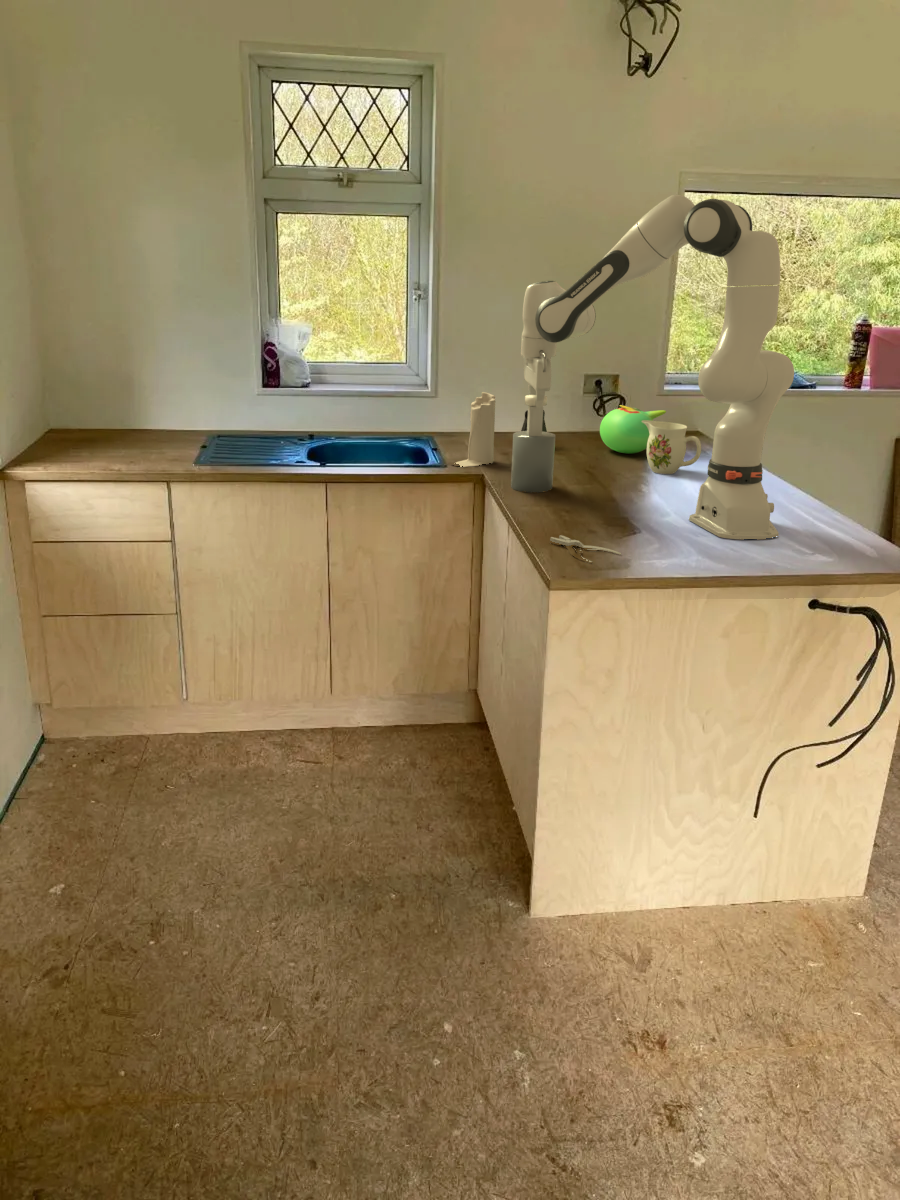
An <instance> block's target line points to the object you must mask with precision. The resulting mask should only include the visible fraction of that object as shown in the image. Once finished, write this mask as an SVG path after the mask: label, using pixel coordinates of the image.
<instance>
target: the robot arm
mask: <svg viewBox="0 0 900 1200" xmlns="http://www.w3.org/2000/svg"><path fill="white" fill-rule="evenodd" d="M752 221H753V220H752V218H751V216H750V214H749V212H748V211H747V210H746V209H745V208H744V207H742V206H741V205H738V204H735V203H734V202H733V201H729V200H728V199H727V200H725V199H717V198H707V199H705V200H701V201H700V202H698V203H696V204H695V203H693V201H692V200H691V199H690V198H688V197H687V196H685V195H682V194H672V195H669V196H668V197H666V198H665V199H663V200H662V201H660V202H659V203H658V204H656V205H655V206H653V207H652V208H651V209H650V210H649V211H648V212H646V213H645V214H644V215H642V217H641V218H639V220H638V221H637V222H635V224H634V225H633V226H632V227H630V229H629V230H628V231H626V233H624V235H623V236H622V237H621V238H620V239H619V240H618V242H617V243H616V244H615V245H614V246H613V247H612V248H611V249H610V250H609V251H608V252H607V253H606V254H605V255H604V256H603V257H602V258H601V259H600V260H599V261H598V262H596V263H595V265H594V266H592V267H591V268H590V269H588V271H587V272H586V273H584V274H583V275H582V276H581V277H580V278H579V279H577V280H576V281H575V282H574V283H573V284H572V285H571V286H569V287H568V289H565V288H563V287H562V286H561V285H560V284H559V283H558V282H557V281H556V280H555V281H554V280H545V281H537V282H533V283H531V284H529V285H528V286H527V287H526V289H525V292H524V297H523V304H522V305H523V306H522V323H523V329H522V332H521V341H520V343H521V344H520V347H521V348H520V356H521V357H523V359H522V361H523V362H522V365H523V377H524V380H525V382H527V384H528V392H529V394H528V395H536V400H535V406H536V407H537V408H542V407H543V408H544V406H543V400H544V396H546V392H550V390H551V386H552V384H551V383H552V362H551V359H552V358H554V357H556V356H557V343H561V342H562V341H565V340H568V339H575V338H578V337H581V336H584V335H585V334H587V333H589V332H590V331H591V330H592V329H593V328H594V326H595V323H596V317H597V315H596V309H595V307H594V304H595V303H596V302H597V301H598V300H599V299H600V298H601V297H603V296H604V295H605V294H606V293H607V292H608V291H610V290H613V288H616V287H617V286H619V285H623V284H625V283H628V282H632V281H636V280H639V279H643V278H645V277H647V276H648V275H650V274H651V273H654V272H655V271H656V270H658V269H659V268H660V267H662V266H663V265H664V264H665V263H666V262H667V261H668V260H669V259H671V257H672V256H675V254H676V253H678V251H679V250H680V249H682V248H683V247H685V246H686V245H688V244H689V245H690V246H691V247H692V248H693V249H694V250H696V251H698V252H700V253H704V254H708V255H712V256H715V257H718V258H723V259H724V261H725V263H726V267H727V268H726V269H727V278H726V293H725V308H724V317H723V324H722V328H721V331H720V335H719V337H718V341H717V343H716V346H715V348H714V350H713V352H712V354H711V355H710V356H709V358H708V359H707V360H706V361H705V362H704V363H703V365H702V366H701V368H700V369H699V372H698V373H699V374H698V376H697V377H698V379H697V380H698V381H697V383H698V388H699V390H700V393H701V394H702V396H703V397H704V398H705V399H706V400H707V401H710V402H713V403H719V404H726V405H729V408H728V410H727V412H726V413H725V415H724V416H723V417H722V418H721V419H720V420H719V421H718V423H717V424H716V426H715V428H714V432H713V433H714V434H713V443H712V451H711V458H710V459H709V461H708V464H707V478H706V480H705V481H704V482H703V483H702V484H701V485H700V487H699V491H698V496H697V500H696V507H695V513H692V514H690V515H689V517H688V520H689V521H690V522H691V523H693V524H695V525H697V526H698V527H701V529H704V530H706V531H707V532H709V533H711V534H713V535H715V536H716V537H719V538H722V539H723V538H724V539H729V540H730V539H731V540H744V539H757V540H767V539H766V538H772V537H776V536H779V535H780V534H779V531H778V529H777V528H776V527H775V525H774V524H773V523H772V522H771V520H770V518H771V514H773V513H774V511H775V503H774V502H769V501H768V493H766V492H765V490H764V488H763V484H762V481H763V473H764V471H763V464H762V454H763V449H764V444H765V443H764V442H765V436H766V432H767V429H768V427H769V423H770V420H771V418H772V416H773V413H774V411H775V409H776V406H777V405H778V403H779V401H780V399H781V398H782V396H783V395H784V394H785V393H786V392H787V391H788V390H789V389H790V387H791V386H792V384H793V381H794V378H795V368H794V363H793V361H792V360H791V359H790V358H789V357H788V356H787V355H785V354H783V353H780V352H778V351H773V350H767V349H765V350H762V346H763V344H764V342H765V339H766V337H767V335H768V334H769V332H770V331H771V330H772V329H773V328H774V326H775V325H776V323H777V320H778V314H779V313H778V312H779V311H778V310H779V299H780V285H781V282H780V281H781V260H780V259H781V257H780V249H779V242H778V239H777V238H776V236H774V235H773V234H771V233H769V232H767V231H762V230H761V231H760V230H753V222H752ZM776 538H777V537H776ZM772 539H773V538H772Z"/></svg>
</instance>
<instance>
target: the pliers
mask: <svg viewBox="0 0 900 1200" xmlns="http://www.w3.org/2000/svg"><path fill="white" fill-rule="evenodd" d="M550 541H552V542H555V543H559V544H562V545H563V546H564V545H566V546H571V545H575V547H577V546H579V547H582V548H592V549H587V550H603V551H602V552H604V551H608V552H613V553H616V554H619V555H621V554H623V553H621V552H619V551H616V550H613V549H610V548H607V547H601V546H595V545H585V544H584V543H583V542H581V541H580V540H576V539H571V538H569V537H567V536H565V535H563V534H561V535H559V536H558V537H553V536H551V537H550V538H549V542H550ZM574 549H575V548H574ZM575 550H576V549H575ZM579 551H582V549H580V550H579ZM608 552H607V553H608ZM616 554H615V555H616ZM619 555H618V556H619ZM621 556H622V555H621ZM581 557H582V558H583V559H586V561H588V560H589V559H587V558H585V557H583V556H581ZM589 562H593V561H591V560H589Z"/></svg>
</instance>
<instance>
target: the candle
mask: <svg viewBox="0 0 900 1200" xmlns="http://www.w3.org/2000/svg"><path fill="white" fill-rule="evenodd" d="M469 415H470V416H469V417H470V419H469V421H470V431H469V432H470V433H469V439H468V446H467V447H468V449H467V459H463V460H459V461H456V462H455V463H456V464H459V465H460V467H459V468H466V467H468V468H469V467H470V468H471V467H479V465H480V466H483V465H482V464H486V465H490V464H489V463H491V464H493V463H494V450H495V449H494V447H495V446H494V444H495V443H494V442H495V425H496V424H495V422H496V421H495V420H496V417H495V416H496V396H495V395H494V394H491V393H489V392H486V391H482V392H481V396H477V397H475V399H474V401H472V402H471V404H470V414H469ZM462 466H463V467H462Z"/></svg>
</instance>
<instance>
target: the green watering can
mask: <svg viewBox="0 0 900 1200" xmlns="http://www.w3.org/2000/svg"><path fill="white" fill-rule="evenodd" d="M666 413H667V411H666V410H663V409H662V410H661V409H660V410H658V409H657V410H650V411H643V410H641V409H639V408H636V407H631V406H626V405H622V404H620V405H619V407H618V408H615V409H613V410H610V411H609V412H608V413H607V414H606V415H604V417H603V418H602V420H601V422H600V425H599V435H600V438H601V440H602V442H603V444H605V445H606V447H608V448H609V449H611V450H612V451H615V452H616V453H617V452H618V453H622V454H627V455H628V454H630V455H631V454H638V453H640V452H643V451H645V450H647V442H648V438H649V435H650V434H649V430H648V428H647V426H646V425H645V424H644V423H643V422H642V420H650V421H654V419H656V418H659V417H661V416H662V415H665V414H666Z"/></svg>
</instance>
